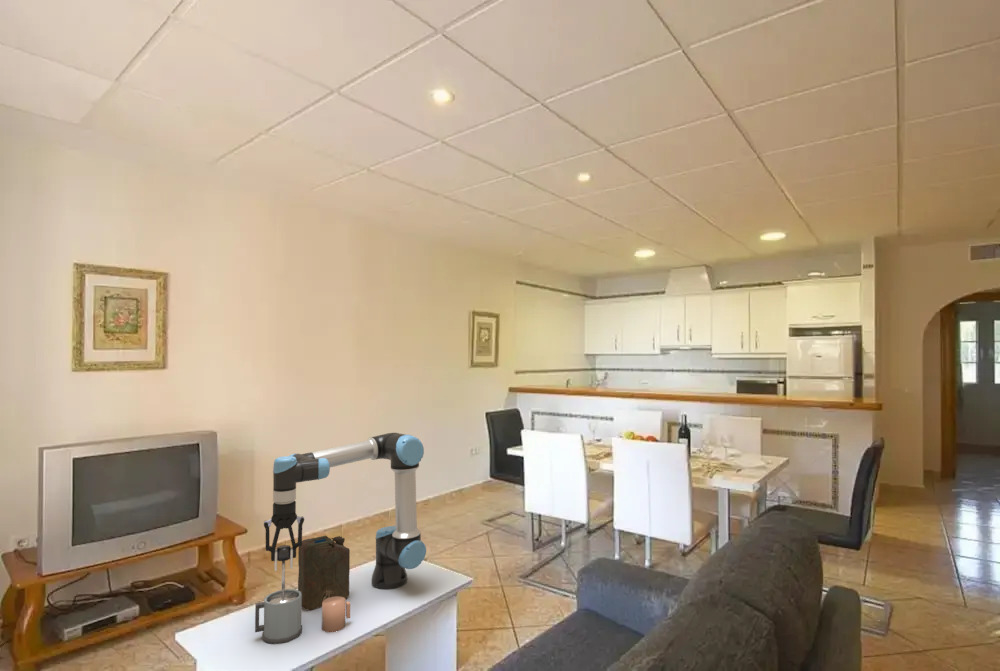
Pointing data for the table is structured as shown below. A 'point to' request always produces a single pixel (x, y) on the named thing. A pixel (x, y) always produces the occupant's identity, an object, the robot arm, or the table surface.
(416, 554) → the robot arm
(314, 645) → the table surface
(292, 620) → the faceted grey tankard
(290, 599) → the plunger
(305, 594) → the canister
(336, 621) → the peach mug
